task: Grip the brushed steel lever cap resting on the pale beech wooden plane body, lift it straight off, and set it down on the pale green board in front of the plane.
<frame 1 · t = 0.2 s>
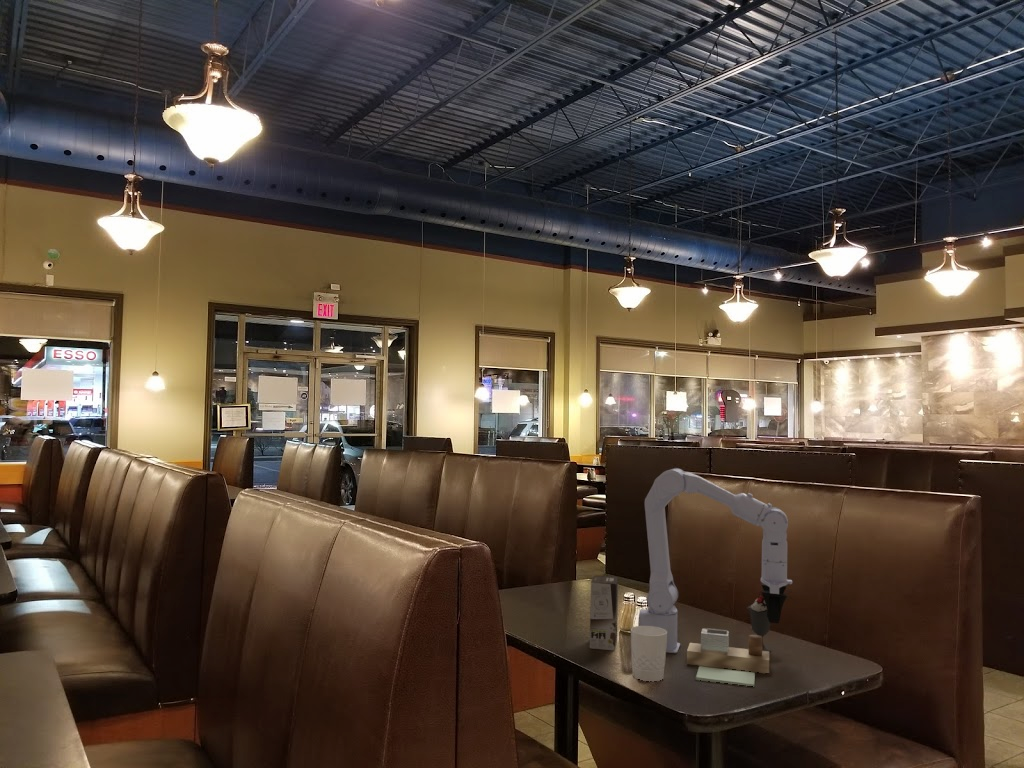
hand: (773, 618, 179), 10 cm above the table, tool pointing down, fingers open, 7 cm apart
coffee box: (603, 645, 189), on the table
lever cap: (714, 649, 177), point 3 cm above the table, touching plane body
board: (725, 677, 166), on the table
white cup: (648, 677, 166), on the table
plane body: (728, 664, 176), on the table
sundae: (760, 650, 188), on the table
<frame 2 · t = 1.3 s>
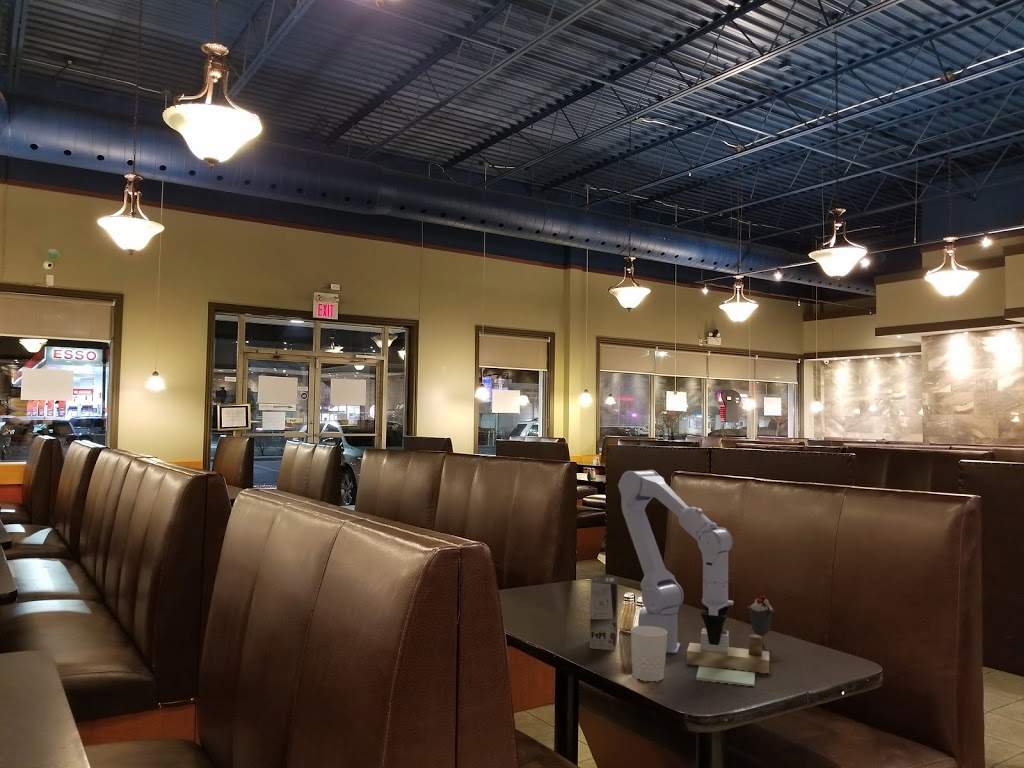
hand: (715, 640, 177), 5 cm above the table, tool pointing down, fingers open, 7 cm apart
nothing on the table moved.
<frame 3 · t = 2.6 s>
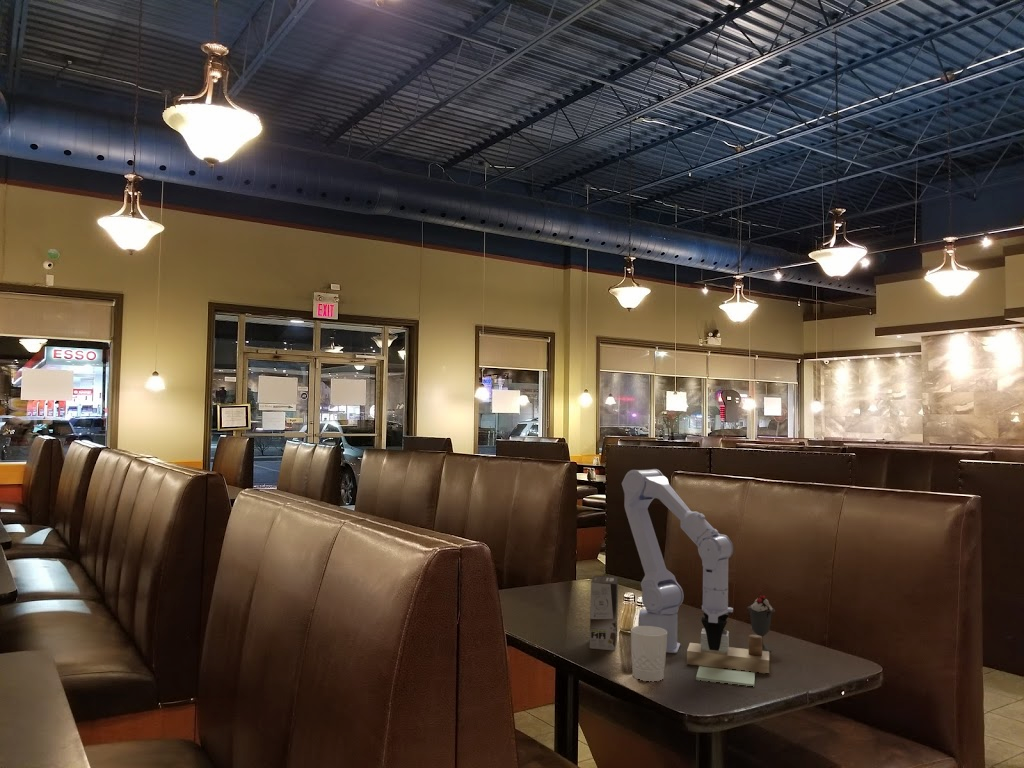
hand: (714, 646, 177), 4 cm above the table, tool pointing down, fingers closed on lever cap, 4 cm apart
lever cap: (714, 649, 177), point 3 cm above the table, touching gripper, plane body
everything else where it was.
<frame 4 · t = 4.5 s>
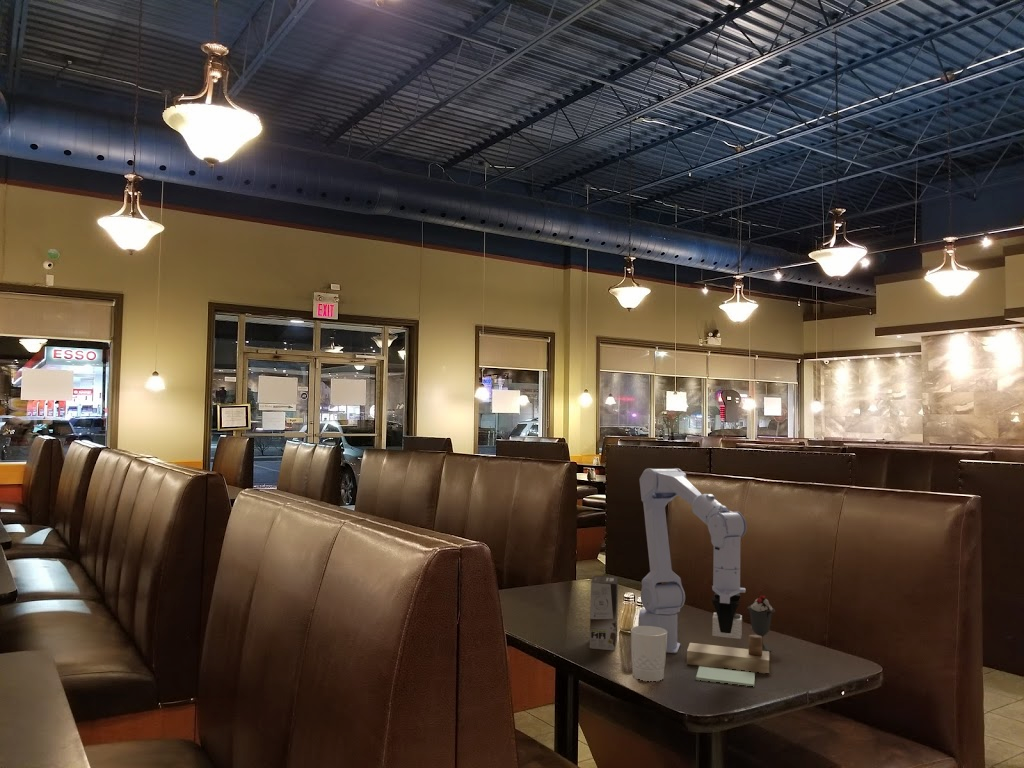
hand: (726, 629, 167), 10 cm above the table, tool pointing down, fingers closed on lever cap, 4 cm apart
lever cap: (727, 634, 167), point 9 cm above the table, touching gripper
everything else where it was.
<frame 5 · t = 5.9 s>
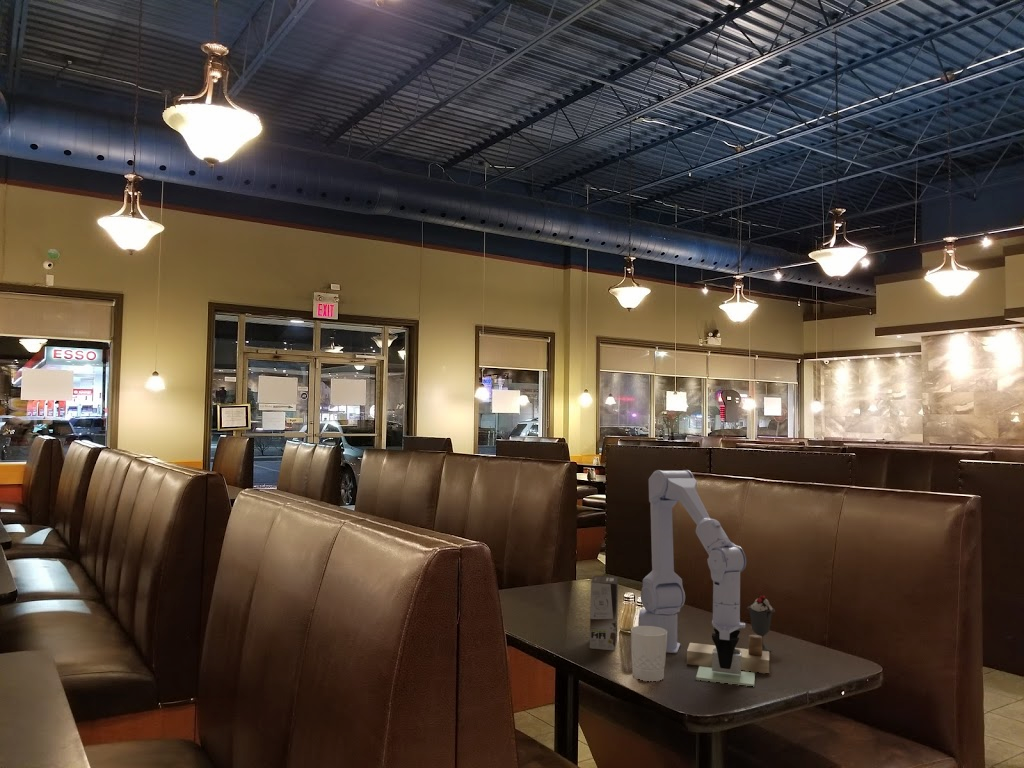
hand: (725, 664, 166), 3 cm above the table, tool pointing down, fingers closed on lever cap, 4 cm apart
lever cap: (726, 669, 166), point 2 cm above the table, touching gripper
everything else where it was.
when the fingers open (3 cm above the table, at t = 6.8 s): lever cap drops 1 cm, resting on board.
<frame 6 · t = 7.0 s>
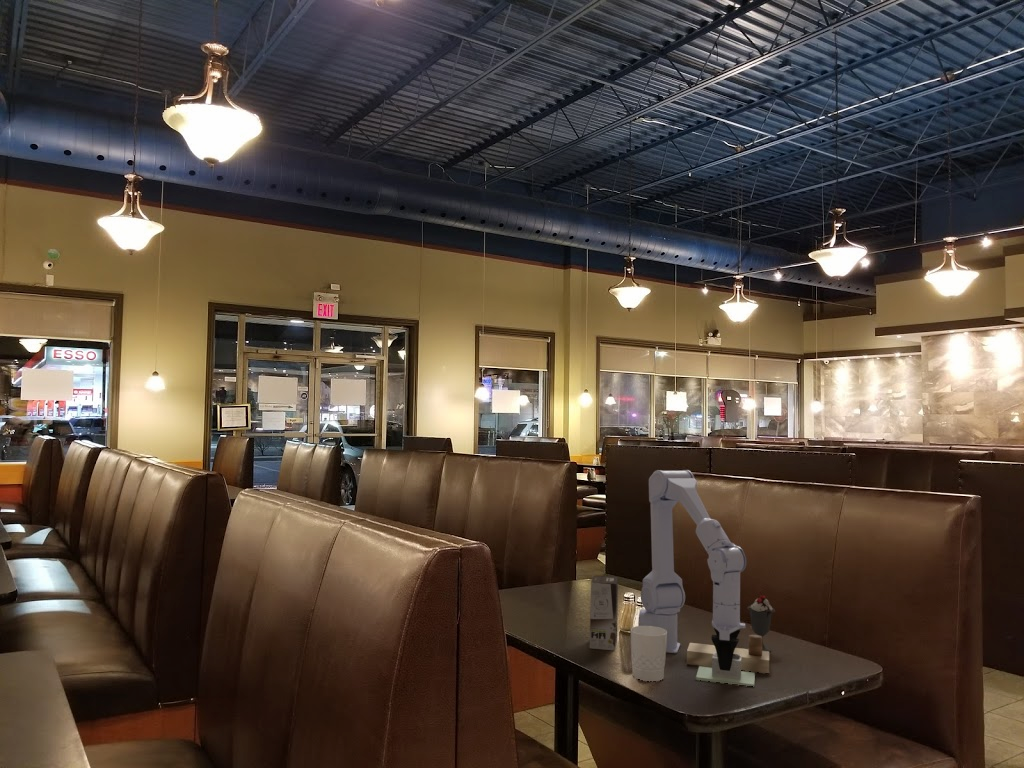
hand: (725, 665, 166), 3 cm above the table, tool pointing down, fingers open, 6 cm apart
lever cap: (726, 675, 166), point 1 cm above the table, touching board
everything else where it was.
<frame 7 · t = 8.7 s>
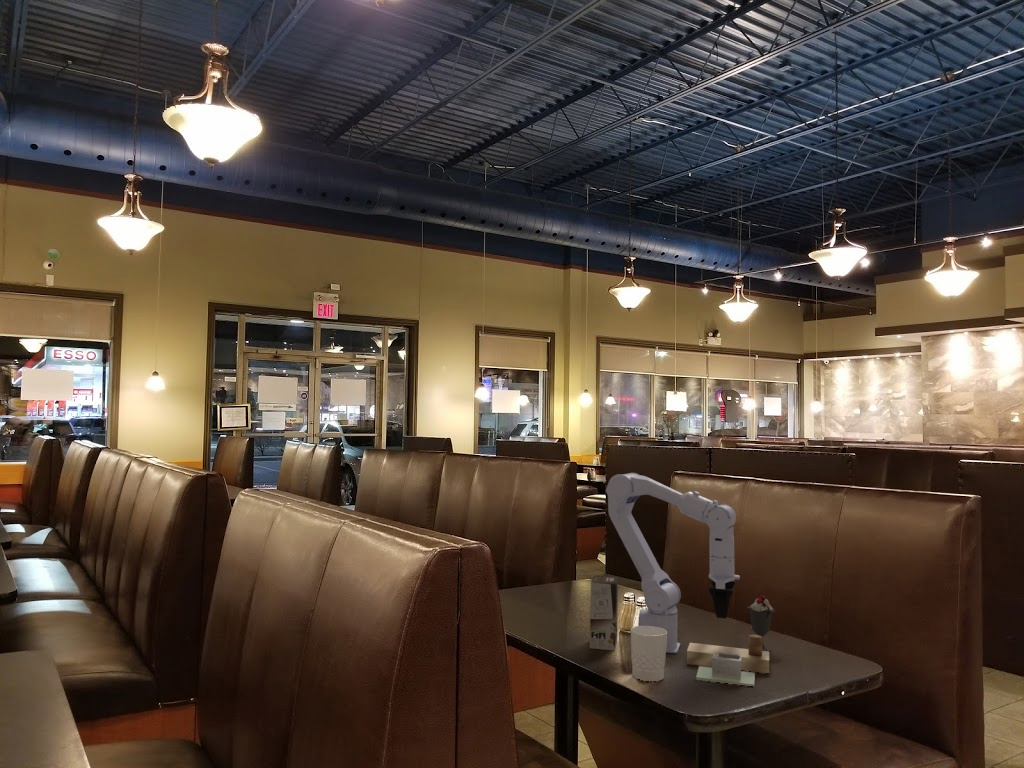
hand: (722, 614, 180), 10 cm above the table, tool pointing down, fingers open, 7 cm apart
nothing on the table moved.
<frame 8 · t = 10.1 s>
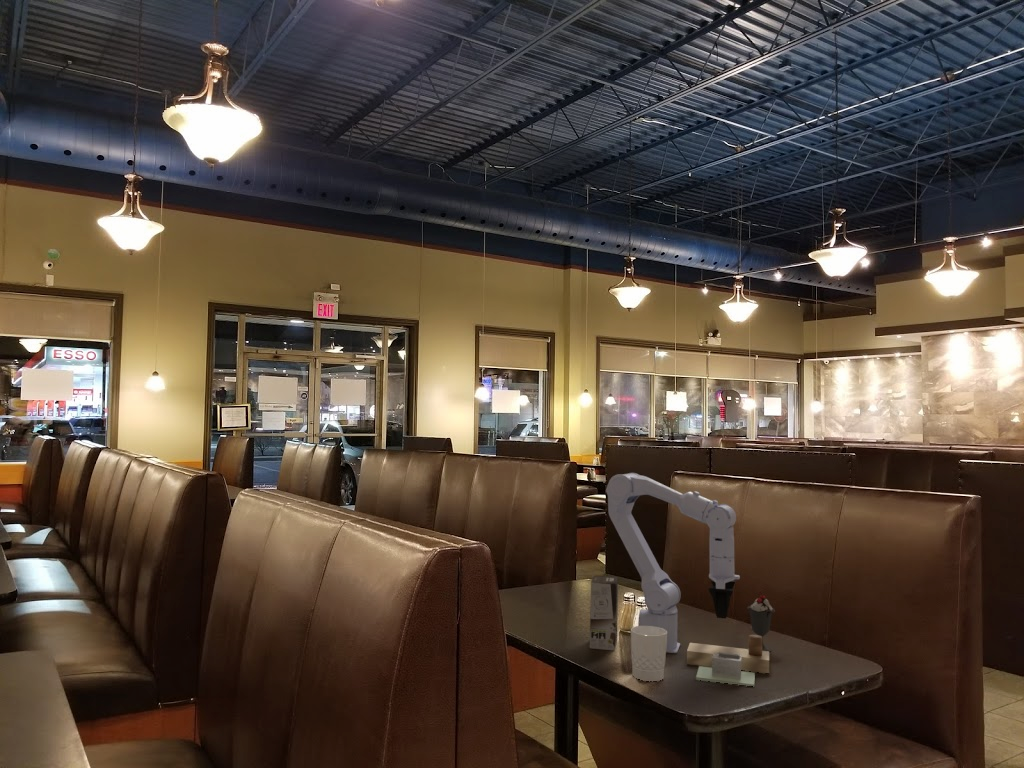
hand: (722, 614, 180), 10 cm above the table, tool pointing down, fingers open, 7 cm apart
nothing on the table moved.
at the end: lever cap 0.2 cm off-centre on the board, point 0.6 cm above the board's base; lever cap tilted 0°; the gripper is holding nothing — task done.
